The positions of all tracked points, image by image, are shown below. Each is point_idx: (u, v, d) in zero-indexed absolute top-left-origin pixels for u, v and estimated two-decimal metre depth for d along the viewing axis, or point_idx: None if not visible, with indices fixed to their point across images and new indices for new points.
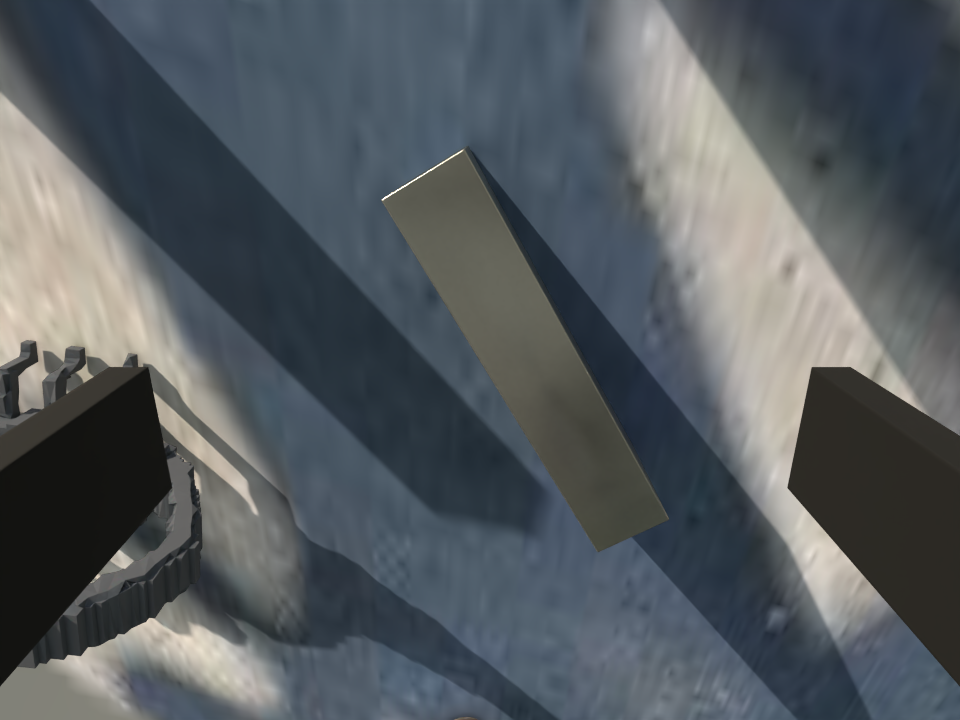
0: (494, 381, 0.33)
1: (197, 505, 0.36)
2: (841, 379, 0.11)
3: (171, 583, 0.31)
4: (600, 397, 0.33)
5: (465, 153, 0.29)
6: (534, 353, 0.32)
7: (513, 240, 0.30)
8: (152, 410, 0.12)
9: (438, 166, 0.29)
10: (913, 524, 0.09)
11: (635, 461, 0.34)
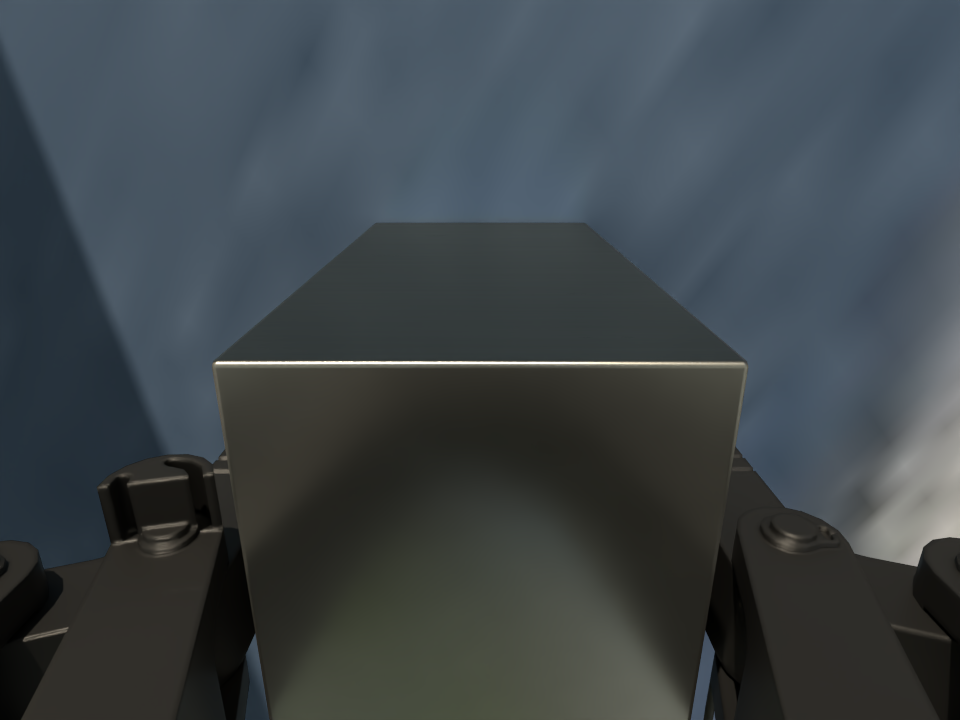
0: None
1: None
2: None
3: None
4: None
5: (740, 383, 0.05)
6: None
7: None
8: None
9: (580, 369, 0.05)
10: None
11: None
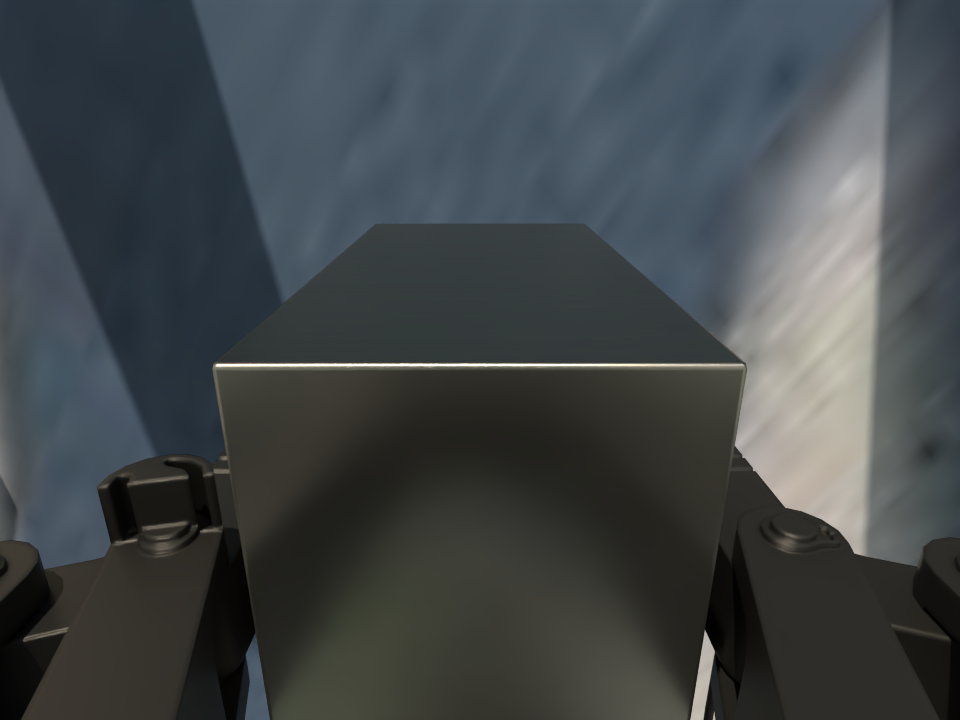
0: None
1: None
2: None
3: None
4: None
5: (739, 385, 0.05)
6: None
7: None
8: None
9: (579, 371, 0.05)
10: None
11: None
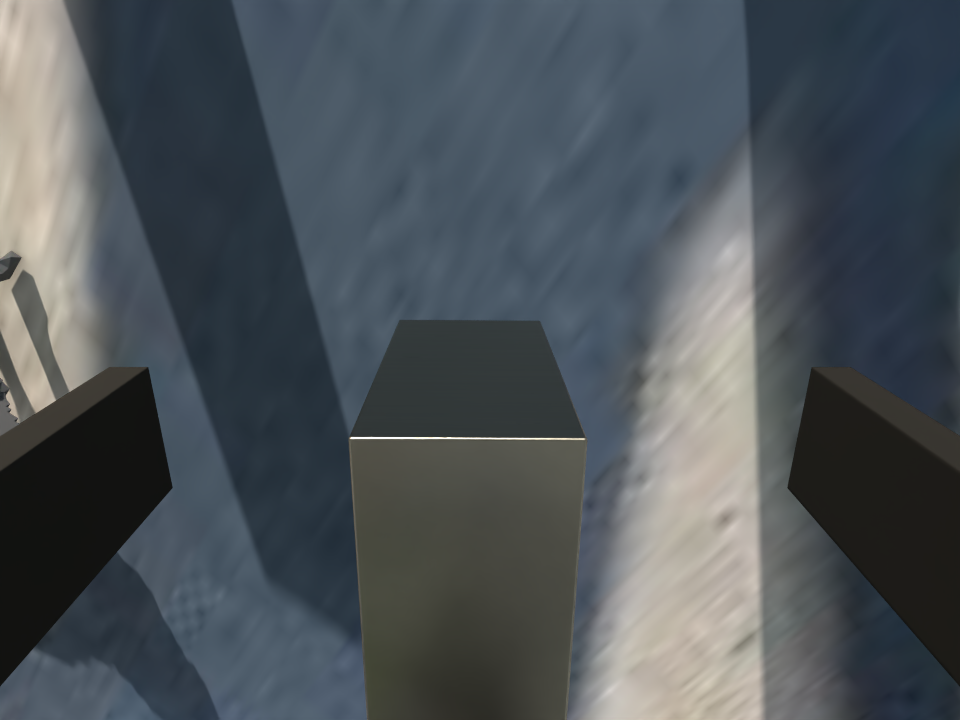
0: None
1: None
2: (841, 379, 0.11)
3: None
4: None
5: (583, 447, 0.12)
6: None
7: (569, 638, 0.14)
8: (152, 410, 0.12)
9: (512, 441, 0.12)
10: (913, 524, 0.09)
11: None
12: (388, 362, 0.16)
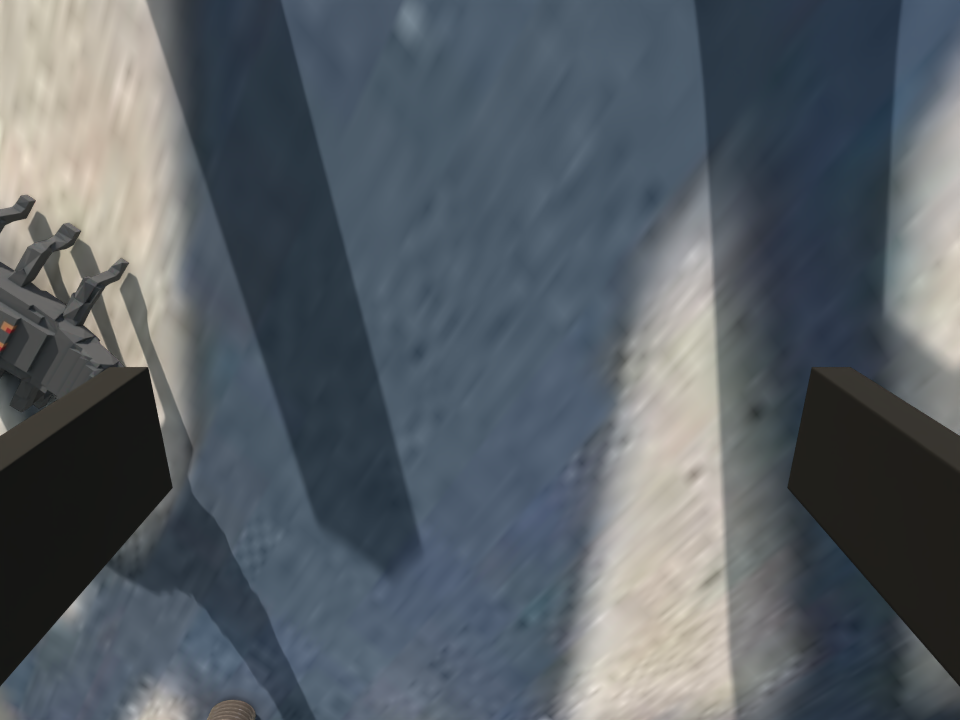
0: None
1: None
2: (841, 379, 0.11)
3: None
4: None
5: None
6: None
7: None
8: (152, 410, 0.12)
9: None
10: (913, 524, 0.09)
11: None
12: None
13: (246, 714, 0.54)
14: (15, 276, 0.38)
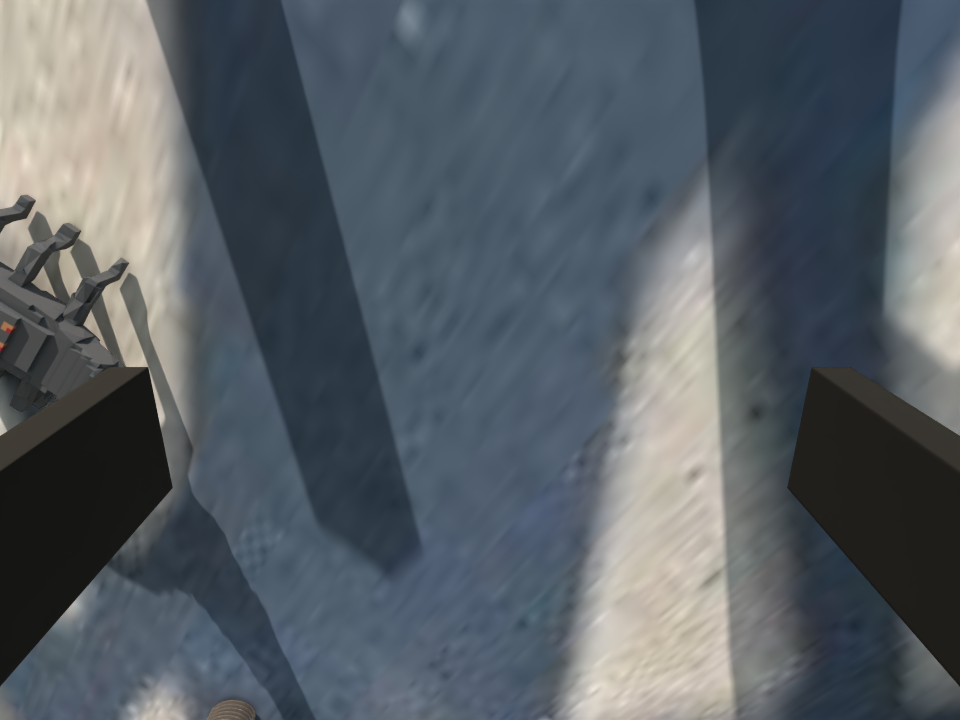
0: None
1: None
2: (841, 379, 0.11)
3: None
4: None
5: None
6: None
7: None
8: (152, 410, 0.12)
9: None
10: (913, 524, 0.09)
11: None
12: None
13: (246, 714, 0.54)
14: (15, 276, 0.38)
